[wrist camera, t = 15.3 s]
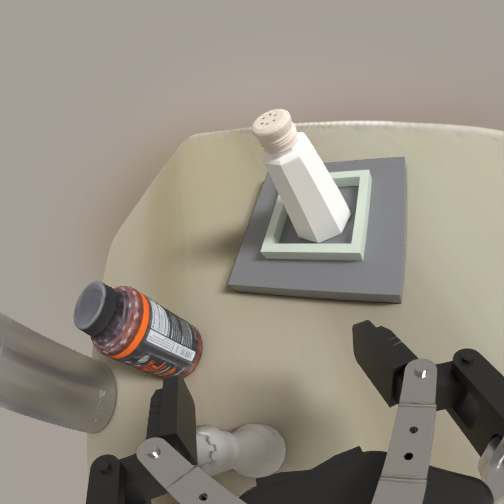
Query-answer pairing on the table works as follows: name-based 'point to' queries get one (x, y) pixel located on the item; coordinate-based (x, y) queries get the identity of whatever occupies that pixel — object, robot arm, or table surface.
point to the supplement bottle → (137, 330)
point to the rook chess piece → (240, 450)
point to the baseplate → (332, 240)
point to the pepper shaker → (300, 178)
